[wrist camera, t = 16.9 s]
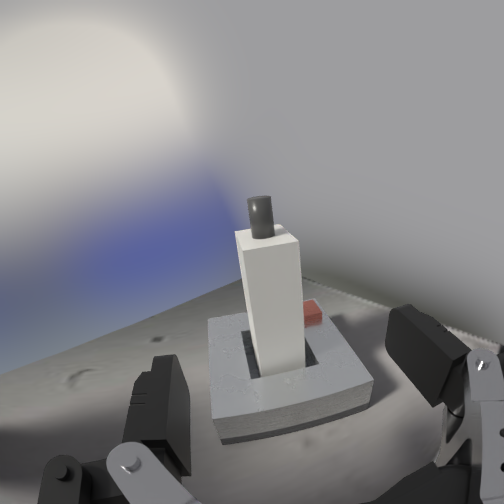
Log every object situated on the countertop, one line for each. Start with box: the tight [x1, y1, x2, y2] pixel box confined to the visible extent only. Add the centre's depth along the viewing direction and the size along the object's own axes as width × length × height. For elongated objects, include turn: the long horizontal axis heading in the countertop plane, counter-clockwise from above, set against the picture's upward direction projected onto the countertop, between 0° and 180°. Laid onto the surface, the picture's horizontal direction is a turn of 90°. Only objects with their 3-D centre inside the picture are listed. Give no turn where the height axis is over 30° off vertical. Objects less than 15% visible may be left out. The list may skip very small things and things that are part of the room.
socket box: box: [208, 298, 374, 445], centre depth 26 cm, size 13×15×5 cm
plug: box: [235, 196, 305, 378], centre depth 24 cm, size 4×6×17 cm
